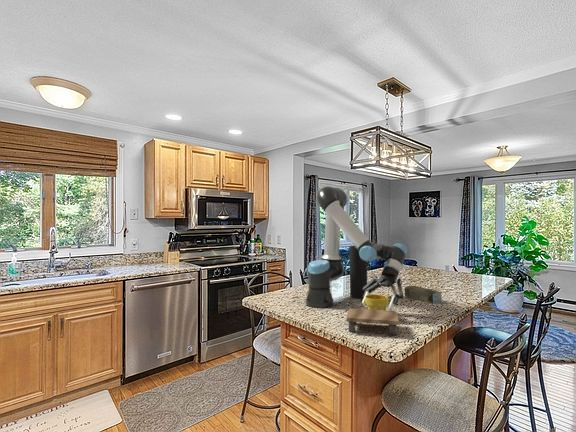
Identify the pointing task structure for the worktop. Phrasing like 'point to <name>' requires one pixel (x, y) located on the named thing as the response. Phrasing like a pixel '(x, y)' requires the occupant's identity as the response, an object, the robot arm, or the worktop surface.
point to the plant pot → (376, 302)
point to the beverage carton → (423, 294)
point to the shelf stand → (372, 318)
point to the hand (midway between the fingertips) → (376, 307)
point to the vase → (357, 273)
